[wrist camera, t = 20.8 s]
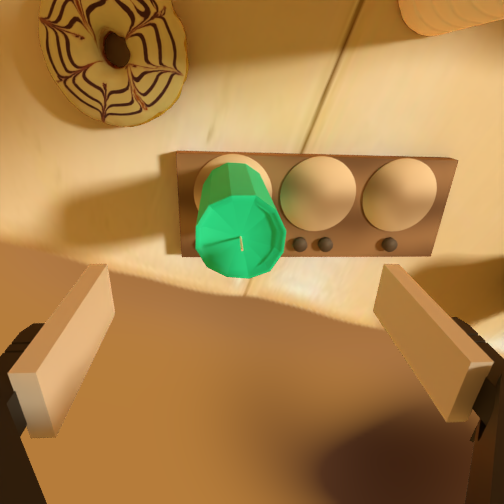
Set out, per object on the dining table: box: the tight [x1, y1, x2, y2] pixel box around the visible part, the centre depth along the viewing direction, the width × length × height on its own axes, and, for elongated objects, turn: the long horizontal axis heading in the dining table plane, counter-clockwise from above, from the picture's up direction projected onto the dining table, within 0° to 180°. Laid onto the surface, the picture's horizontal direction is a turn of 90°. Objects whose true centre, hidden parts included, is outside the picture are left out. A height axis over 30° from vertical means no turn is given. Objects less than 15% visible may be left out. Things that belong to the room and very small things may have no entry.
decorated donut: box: [38, 0, 189, 127], centre depth 26 cm, size 10×11×4 cm
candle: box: [195, 162, 286, 279], centre depth 26 cm, size 6×6×12 cm
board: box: [176, 151, 458, 257], centre depth 34 cm, size 10×26×2 cm, turn 88°
